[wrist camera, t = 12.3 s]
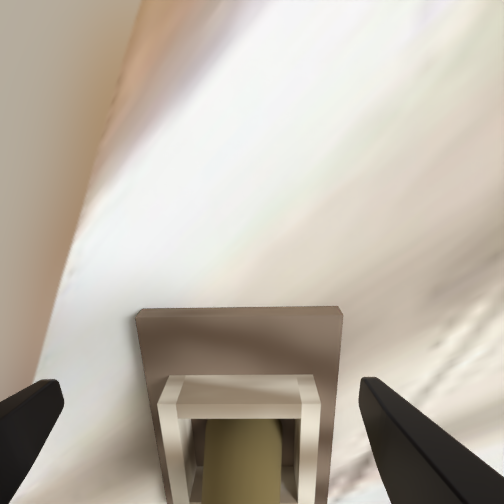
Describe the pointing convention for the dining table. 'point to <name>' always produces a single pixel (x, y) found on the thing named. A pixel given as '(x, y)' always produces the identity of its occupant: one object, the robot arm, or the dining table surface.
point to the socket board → (243, 387)
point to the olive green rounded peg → (242, 461)
